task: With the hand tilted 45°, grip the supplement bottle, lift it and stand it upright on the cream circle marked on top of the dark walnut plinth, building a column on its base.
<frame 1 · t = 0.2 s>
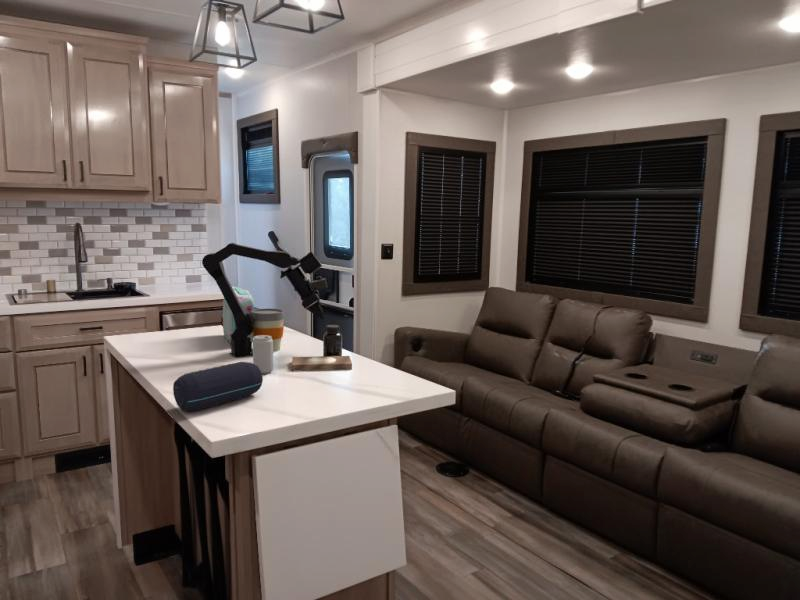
hand: (323, 316, 216), 14 cm above the worktop, tool tilted 35°, fingers open, 9 cm apart
lunch box: (238, 340, 239), on the worktop
photo frame: (222, 379, 185), on the worktop
supplement bottle: (332, 358, 212), on the worktop
walnut plinth: (321, 365, 201), on the worktop
beverage can: (263, 372, 192), on the worktop
portable speaker: (218, 403, 161), on the worktop
reusable coffee cup: (268, 350, 223), on the worktop
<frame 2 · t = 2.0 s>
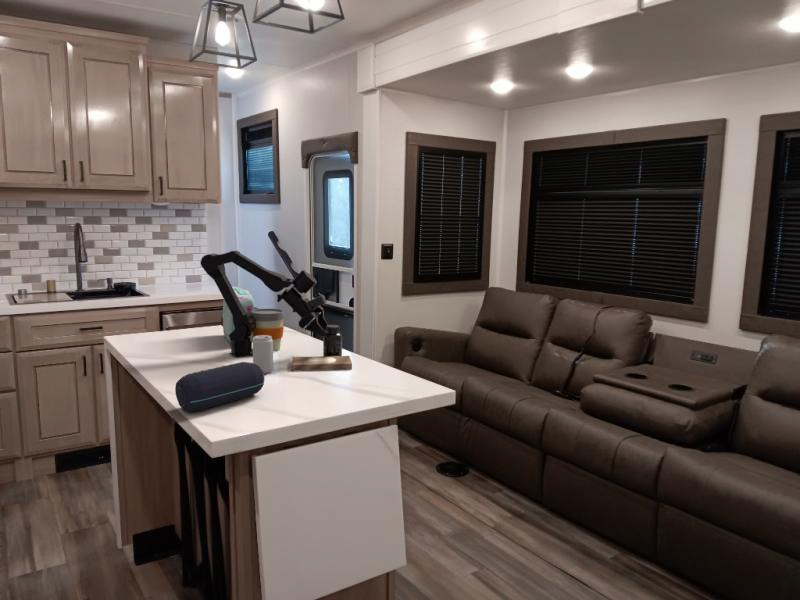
hand: (327, 333, 211), 9 cm above the worktop, tool tilted 45°, fingers open, 9 cm apart
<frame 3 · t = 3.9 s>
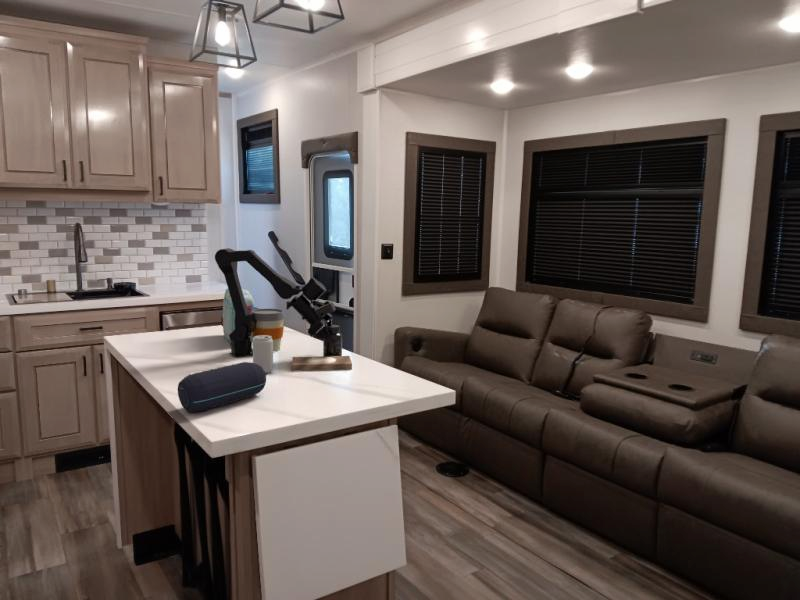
hand: (336, 340, 211), 7 cm above the worktop, tool tilted 45°, fingers closed on supplement bottle, 7 cm apart
supplement bottle: (332, 358, 212), on the worktop, touching gripper
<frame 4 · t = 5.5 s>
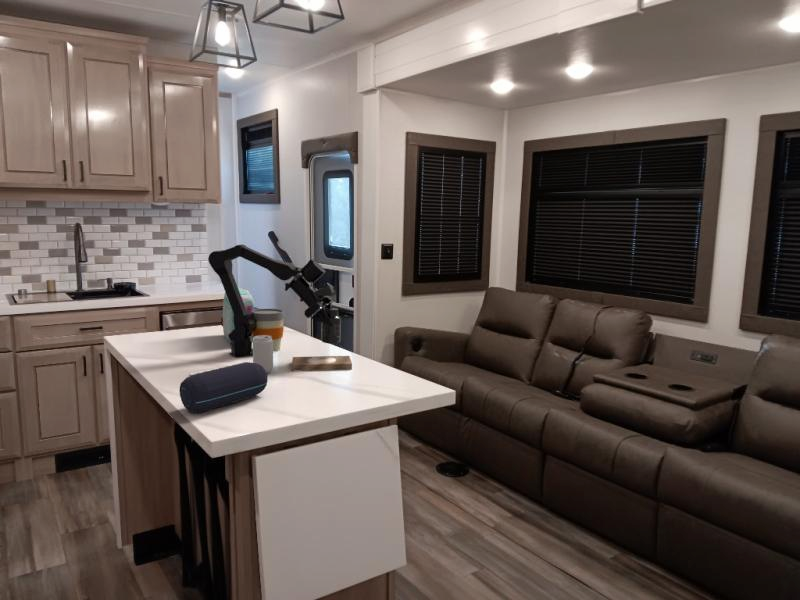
hand: (334, 323, 208), 13 cm above the worktop, tool tilted 45°, fingers closed on supplement bottle, 7 cm apart
supplement bottle: (330, 342, 209), point 6 cm above the worktop, touching gripper
when the fingers open (10 cm above the worktop, at t = 7.4 s): supplement bottle drops 1 cm, resting on walnut plinth.
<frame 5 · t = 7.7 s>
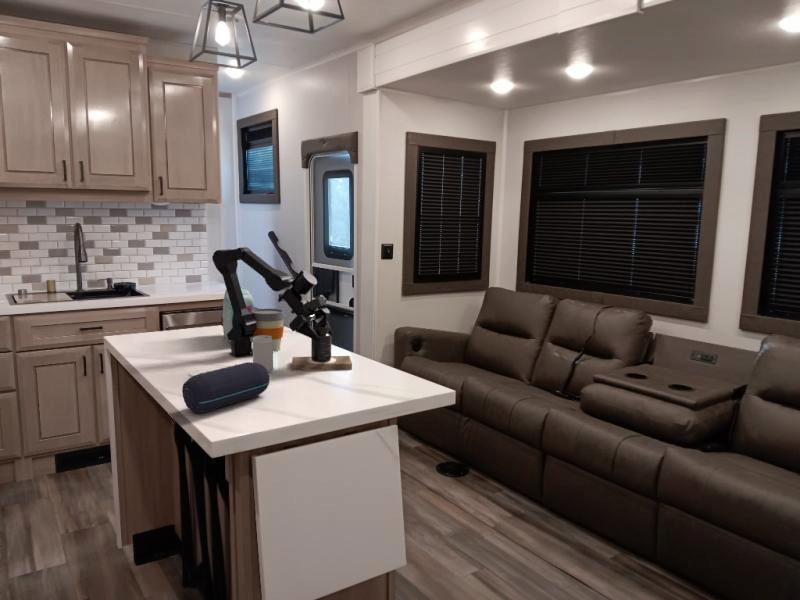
hand: (325, 337, 199), 10 cm above the worktop, tool tilted 45°, fingers open, 9 cm apart
supplement bottle: (321, 360, 201), point 2 cm above the worktop, touching walnut plinth
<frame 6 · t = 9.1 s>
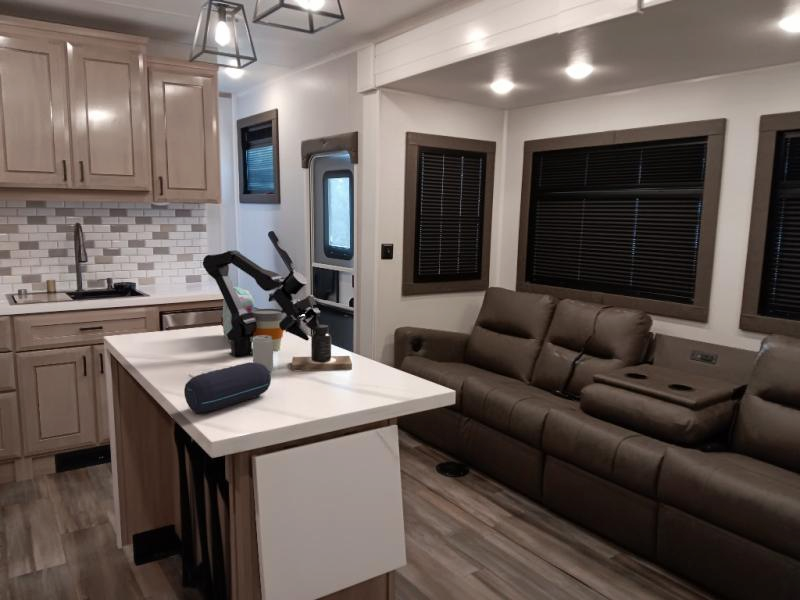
hand: (315, 337, 201), 10 cm above the worktop, tool tilted 45°, fingers open, 9 cm apart
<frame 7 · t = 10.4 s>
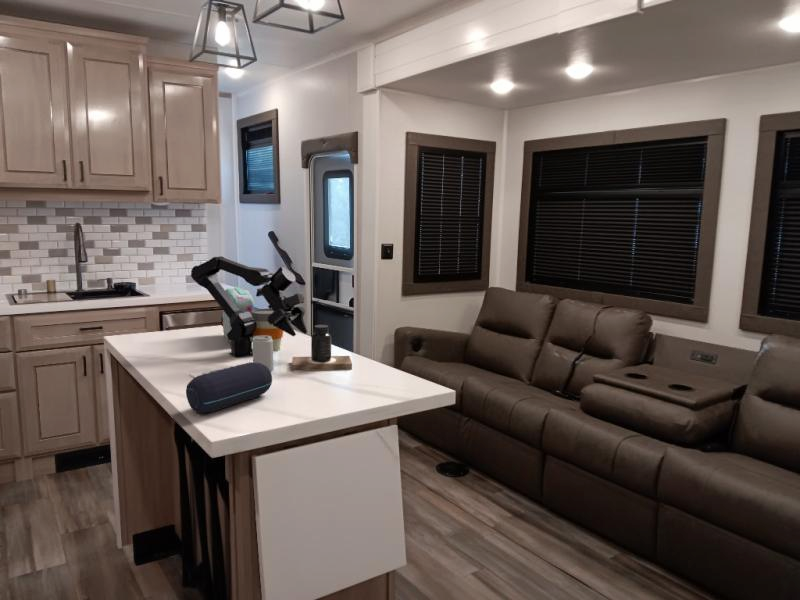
hand: (300, 334, 203), 10 cm above the worktop, tool tilted 40°, fingers open, 9 cm apart
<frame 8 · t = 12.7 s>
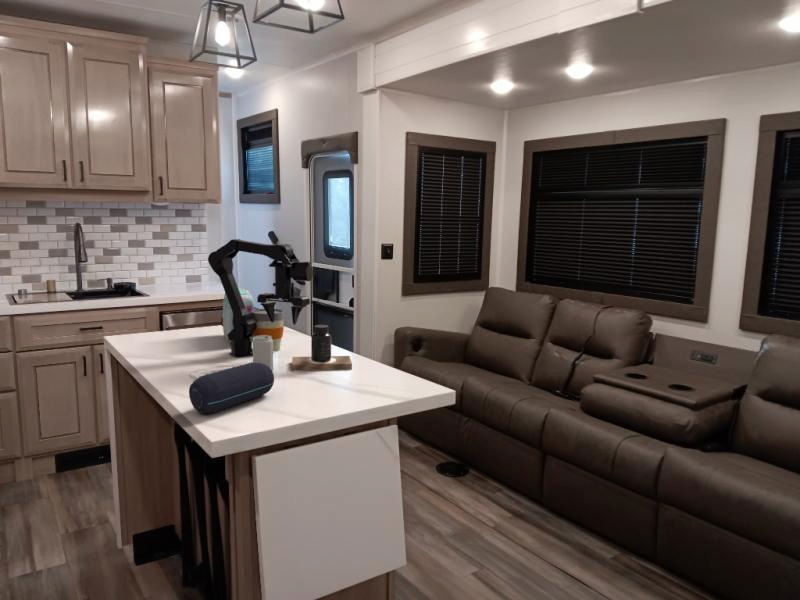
hand: (283, 323, 208), 13 cm above the worktop, tool pointing down, fingers open, 9 cm apart
at the end: supplement bottle 0.1 cm off-centre on the walnut plinth, point 1.8 cm above the walnut plinth's base; supplement bottle tilted 0°; the gripper is holding nothing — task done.
